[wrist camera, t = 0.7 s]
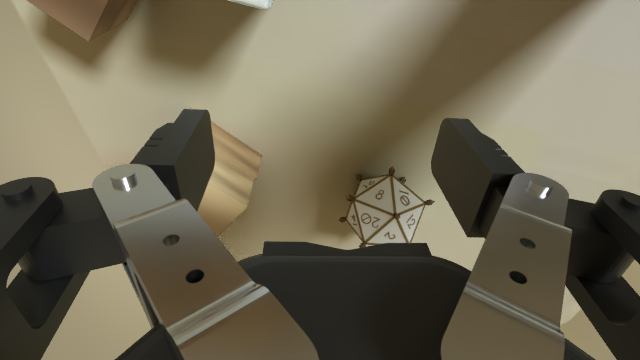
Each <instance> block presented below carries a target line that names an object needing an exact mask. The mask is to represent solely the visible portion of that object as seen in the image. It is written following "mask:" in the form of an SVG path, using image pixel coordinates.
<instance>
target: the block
mask: <svg viewBox="0 0 640 360" xmlns="http://www.w3.org/2000/svg"><path fill="white" fill-rule="evenodd" d="M27 1H29V2H30V3H31V4H33V5H34V6H36V7H37V8H39V9H40V10H42V11H43V12H45V13H46V14H48V15H49V16H51V17H52V18H54V19H55V20H57V21H58V22H60V23H61V24H63V25H64V26H66V27H67V28H69V29H70V30H72V31H73V32H75V33H76V34H78V35H79V36H81V37H82V38H84V39H85V40H87V41H88V42H89V41H91V40H92V39H94V38H96V37H97V36H99V35H101V34H103V33H104V32H106V31H108V30H110V29H111V28H113V27H115V26H116V25H118V24H120V23H122V22H123V21H125V20H127V18H128V17H129V15H130V13H131V11H132V9H133V7H134V5H135V3H136V1H137V0H27Z"/></svg>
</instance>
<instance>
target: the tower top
mask: <svg viewBox="0 0 640 360" xmlns="http://www.w3.org/2000/svg"><path fill="white" fill-rule="evenodd" d="M253 180H254V178H253V177H251V176H250V175H248V174H247V173H245V172H244V171H242V170H240V169H239V168H237V167H236V166H234V165H232V164H231V163H229V162H228V161H226V160H225V159H223V158H221V157H220V156H218V155H217V154H215V165H214V170H213V172H212V175H211V177H210V180H209V182H208V185H207V188H206V190H205V193H204V195H203V198H202V200H201V203H200V206H199V208H198V211H197V213H198V214H199V215H200V216H201V218H202V219H203V220H204V221H205V223H206V224H207V225H208V226H209V227H210V229H211V230H212V231H213V232H214V234H215V235H216V236H217V237H218V236H219V235H220V234H221V233H222V232H223V231H224V230H225V229H226V228H227V227H228V226H229V225H230V224H231V223H232V222H233V221H234V220H235V219H236V218H237V217H238V216H239V215H240V214H241V213H242V212H243V211H244V210H245V209H246V208H247V207H248V203H249V198H250V194H251V189H252V185H253Z"/></svg>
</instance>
